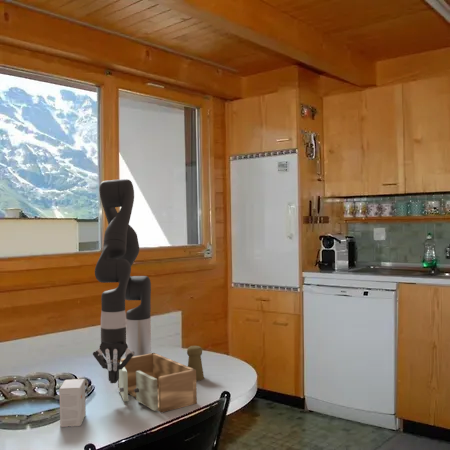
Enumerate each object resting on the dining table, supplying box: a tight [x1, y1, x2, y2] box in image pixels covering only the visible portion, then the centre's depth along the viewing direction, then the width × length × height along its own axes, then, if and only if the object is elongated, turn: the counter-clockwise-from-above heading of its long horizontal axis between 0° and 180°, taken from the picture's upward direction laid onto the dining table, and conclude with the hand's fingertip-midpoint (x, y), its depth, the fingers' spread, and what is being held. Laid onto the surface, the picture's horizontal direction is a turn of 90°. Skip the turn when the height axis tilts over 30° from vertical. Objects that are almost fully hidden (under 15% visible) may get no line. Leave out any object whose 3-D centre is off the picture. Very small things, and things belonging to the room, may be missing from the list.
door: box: [117, 361, 129, 402], centre depth 165 cm, size 12×2×9 cm, turn 19°
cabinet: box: [120, 352, 198, 414], centre depth 164 cm, size 26×15×10 cm, turn 36°
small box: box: [58, 378, 87, 428], centre depth 146 cm, size 8×6×10 cm
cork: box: [186, 345, 205, 382], centre depth 183 cm, size 6×6×11 cm
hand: (113, 382), depth 160 cm, fingers closed
